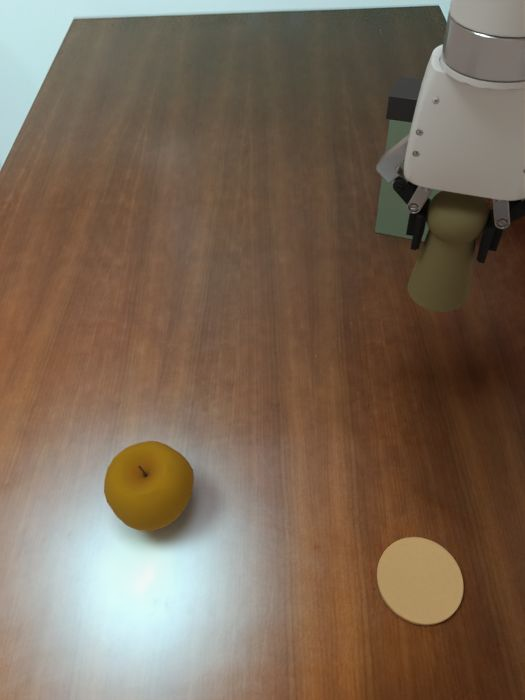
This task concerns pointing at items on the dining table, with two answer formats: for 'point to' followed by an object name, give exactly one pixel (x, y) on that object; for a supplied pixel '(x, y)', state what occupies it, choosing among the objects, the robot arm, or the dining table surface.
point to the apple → (148, 485)
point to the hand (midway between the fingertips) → (449, 245)
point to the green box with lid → (391, 204)
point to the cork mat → (420, 581)
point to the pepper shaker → (448, 251)
